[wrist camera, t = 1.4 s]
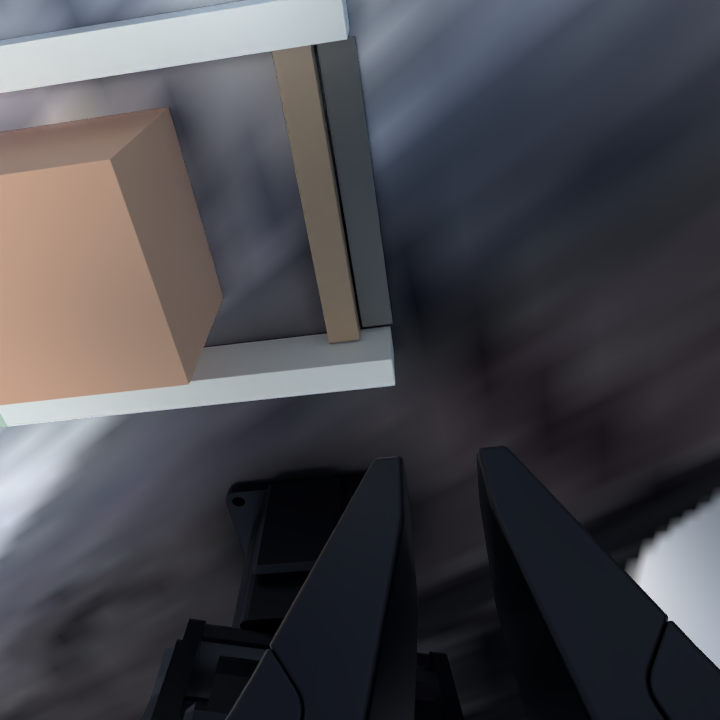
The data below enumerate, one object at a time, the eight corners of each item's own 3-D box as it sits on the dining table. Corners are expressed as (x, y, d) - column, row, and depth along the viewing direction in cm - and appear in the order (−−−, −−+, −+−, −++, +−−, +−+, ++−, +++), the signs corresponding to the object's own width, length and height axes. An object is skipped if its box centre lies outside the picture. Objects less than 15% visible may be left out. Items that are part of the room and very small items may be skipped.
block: (224, 295, 22) (188, 384, 17) (51, 316, 22) (-24, 408, 18) (169, 105, 18) (110, 159, 14) (-33, 136, 19) (-147, 196, 15)
